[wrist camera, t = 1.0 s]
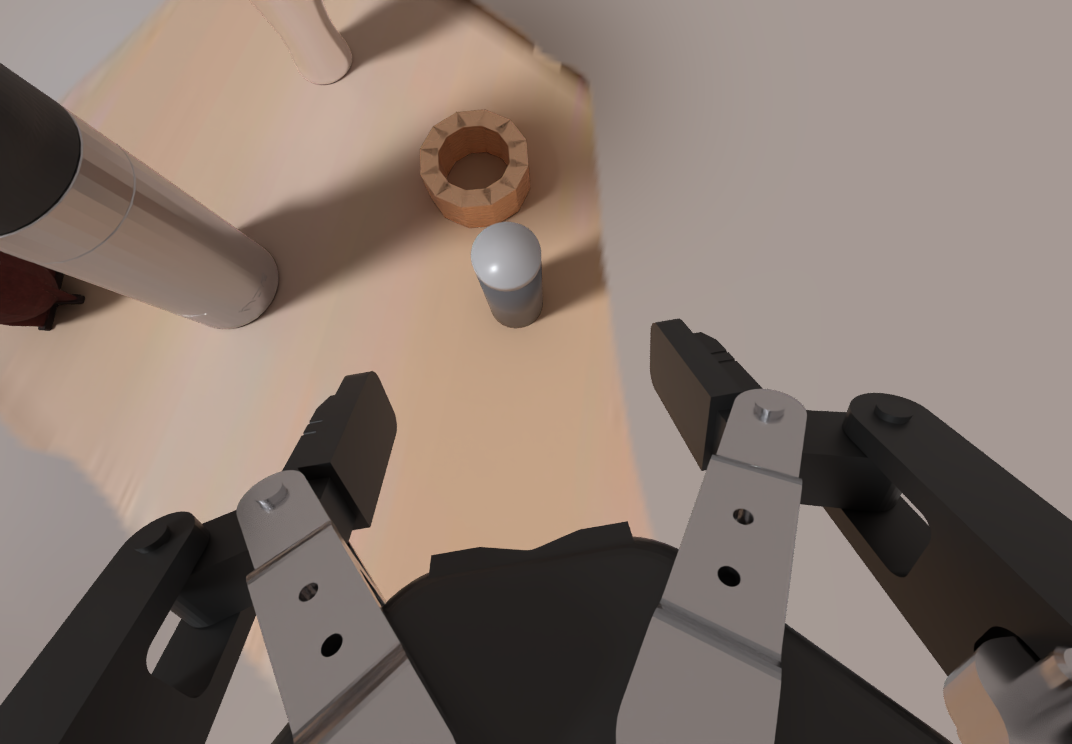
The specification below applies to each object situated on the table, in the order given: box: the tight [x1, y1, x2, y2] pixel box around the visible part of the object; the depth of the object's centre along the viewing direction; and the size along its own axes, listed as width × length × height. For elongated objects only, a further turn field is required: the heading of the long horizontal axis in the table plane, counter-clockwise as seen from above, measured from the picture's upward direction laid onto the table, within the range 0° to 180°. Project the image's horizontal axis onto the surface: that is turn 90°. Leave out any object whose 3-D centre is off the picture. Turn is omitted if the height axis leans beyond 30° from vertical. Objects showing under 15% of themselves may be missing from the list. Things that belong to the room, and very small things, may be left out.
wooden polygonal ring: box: [420, 110, 530, 228], centre depth 40 cm, size 10×10×4 cm
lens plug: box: [471, 222, 543, 328], centre depth 34 cm, size 5×5×10 cm
